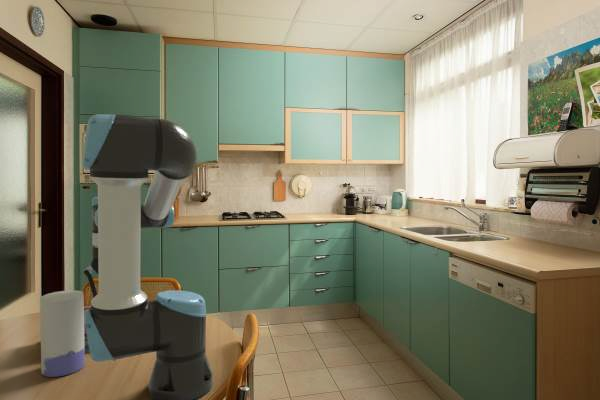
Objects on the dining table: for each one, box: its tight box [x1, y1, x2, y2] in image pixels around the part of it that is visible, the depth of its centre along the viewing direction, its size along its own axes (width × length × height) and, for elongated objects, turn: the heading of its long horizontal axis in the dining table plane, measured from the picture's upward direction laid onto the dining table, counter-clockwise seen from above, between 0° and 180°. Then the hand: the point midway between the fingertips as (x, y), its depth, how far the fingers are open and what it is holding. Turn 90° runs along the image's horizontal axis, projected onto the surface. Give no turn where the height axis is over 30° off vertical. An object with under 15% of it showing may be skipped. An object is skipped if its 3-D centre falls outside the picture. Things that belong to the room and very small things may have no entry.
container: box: [39, 290, 86, 378], centre depth 107 cm, size 10×10×20 cm
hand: (106, 319), depth 127 cm, fingers closed
